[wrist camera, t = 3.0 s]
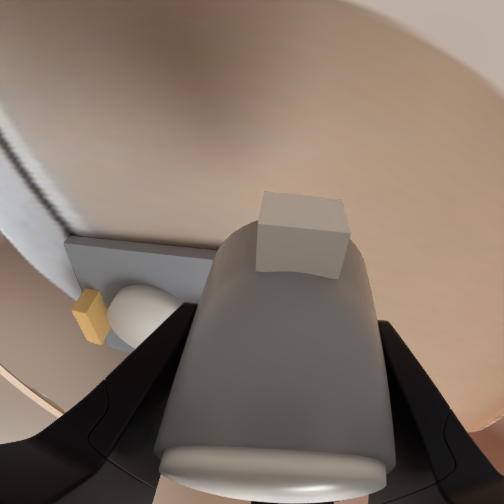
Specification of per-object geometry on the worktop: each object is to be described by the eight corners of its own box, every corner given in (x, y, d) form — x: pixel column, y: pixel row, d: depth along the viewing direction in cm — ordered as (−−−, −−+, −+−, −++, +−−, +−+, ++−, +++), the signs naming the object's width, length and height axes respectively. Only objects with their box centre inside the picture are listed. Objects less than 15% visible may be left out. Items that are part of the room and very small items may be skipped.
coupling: (338, 353, 12) (340, 506, 7) (216, 341, 12) (181, 492, 7) (394, 191, 7) (490, 432, 2) (205, 172, 8) (80, 406, 3)
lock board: (237, 363, 28) (231, 395, 25) (112, 340, 29) (100, 367, 26) (236, 252, 20) (226, 290, 17) (70, 235, 21) (45, 264, 18)
